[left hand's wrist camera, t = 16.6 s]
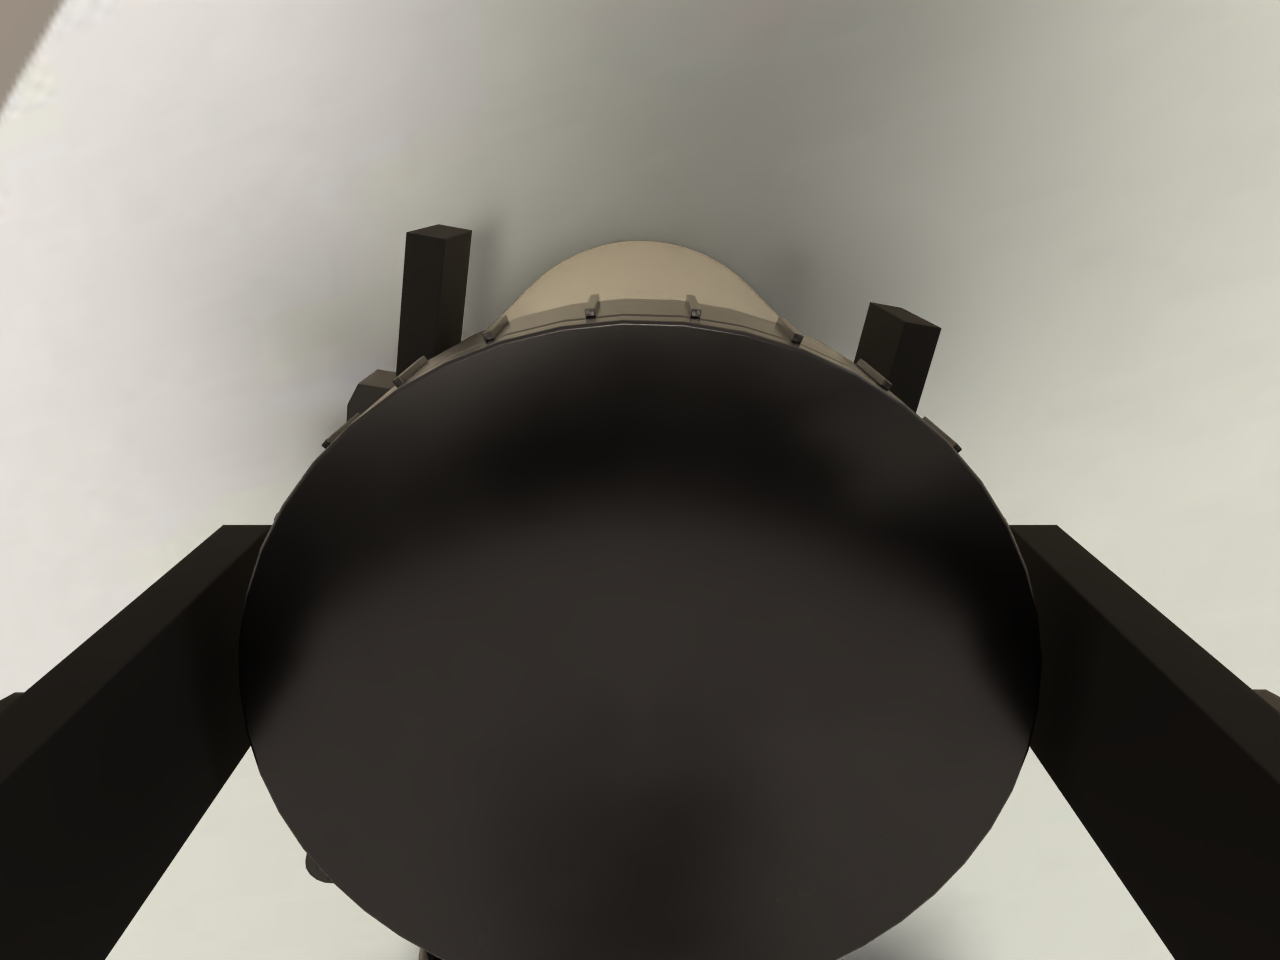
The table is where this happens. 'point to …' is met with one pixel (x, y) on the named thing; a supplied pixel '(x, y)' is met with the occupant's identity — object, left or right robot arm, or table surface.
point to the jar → (640, 280)
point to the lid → (639, 645)
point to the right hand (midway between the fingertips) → (676, 273)
